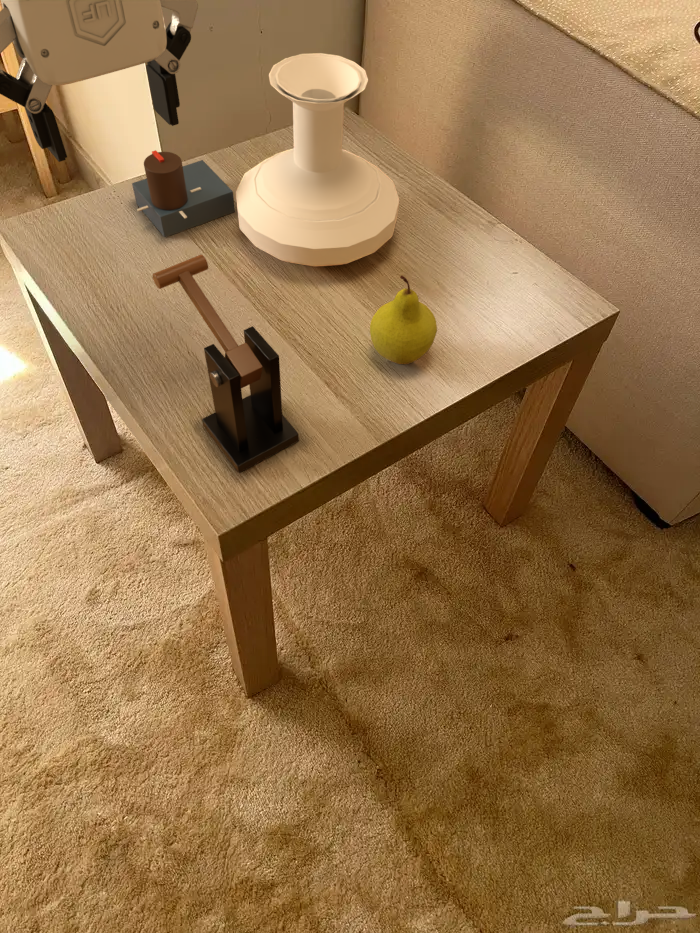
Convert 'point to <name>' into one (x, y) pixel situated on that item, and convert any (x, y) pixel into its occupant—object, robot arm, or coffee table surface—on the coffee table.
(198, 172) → the panel
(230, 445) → the bracket
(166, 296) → the coffee table surface
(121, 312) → the coffee table surface
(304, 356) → the coffee table surface
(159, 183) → the knob
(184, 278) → the lever
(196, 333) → the coffee table surface
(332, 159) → the white vase
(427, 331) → the fruit
